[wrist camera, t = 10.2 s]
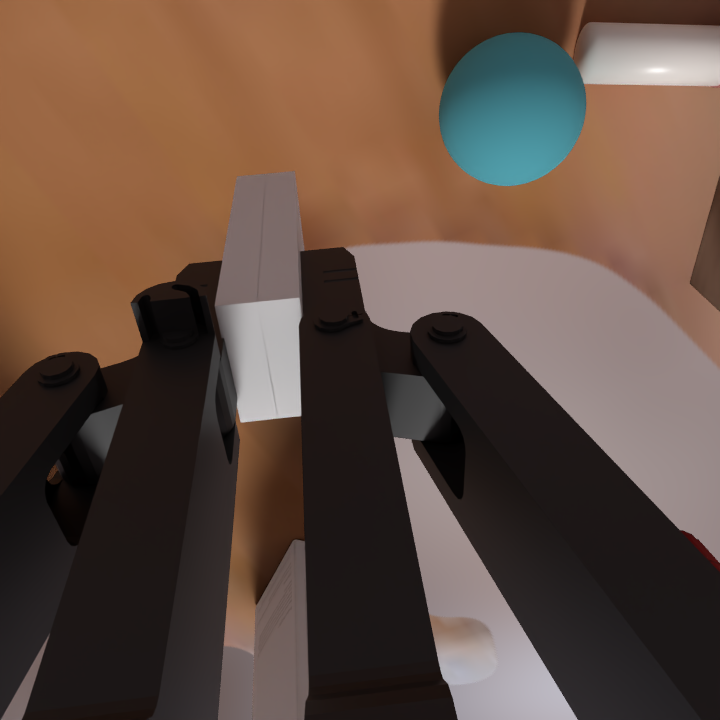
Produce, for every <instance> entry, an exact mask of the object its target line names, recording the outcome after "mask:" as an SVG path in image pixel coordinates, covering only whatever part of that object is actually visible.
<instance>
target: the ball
mask: <svg viewBox="0 0 720 720" xmlns="http://www.w3.org/2000/svg"><path fill="white" fill-rule="evenodd" d="M585 111H586V93H585V87H584V83H583V79H582V77H581V74H580V71H579V69H578V68H577V66H576V64H575V63H574V61H573V59H572V58H571V57H570V56H569V55H568V53H567V52H566V51H564V50H563V49H562V48H561V47H560V46H559V45H557V44H556V43H554V42H553V41H551V40H549V39H547V38H545V37H542V36H539V35H535V34H531V33H523V32H516V33H506V34H502V35H497V36H495V37H492V38H490V39H487V40H485V41H483V42H482V43H480V44H478V45H477V46H475V47H474V48H473V49H471V50H470V51H469V52H468V53H467V54H466V55H465V56H464V57H463V58H462V59H461V60H460V61H459V62H458V63H457V65H456V66H455V67H454V69H453V71H452V72H451V74H450V75H449V77H448V79H447V81H446V84H445V86H444V89H443V92H442V96H441V101H440V108H439V123H440V131H441V135H442V138H443V141H444V144H445V146H446V148H447V150H448V152H449V154H450V156H451V157H452V158H453V160H454V161H455V162H456V163H457V164H458V165H459V166H460V168H461V169H462V170H464V171H465V172H466V173H468V174H469V175H471V176H472V177H474V178H476V179H478V180H480V181H483V182H485V183H489V184H493V185H500V186H513V185H519V184H524V183H528V182H531V181H534V180H536V179H538V178H540V177H542V176H544V175H546V174H547V173H549V172H550V171H551V170H553V169H554V168H555V167H557V166H558V165H559V164H560V163H561V162H562V161H563V160H564V159H565V157H566V156H567V155H568V154H569V152H570V151H571V150H572V148H573V146H574V145H575V143H576V141H577V139H578V137H579V135H580V132H581V130H582V127H583V123H584V119H585Z"/></svg>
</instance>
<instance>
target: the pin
mask: <svg viewBox="0 0 720 720" xmlns="http://www.w3.org/2000/svg"><path fill="white" fill-rule="evenodd" d="M573 61H574V63H575V64H576V66H577V68H578V69H579V71H580V74H581V77H582V79H583V83H584V84H618V85H675V86H710V87H719V88H720V26H716V25H679V24H642V23H605V22H589V23H587V24H586V25H585V26H584V27H583V29H582V30H581V32H580V34H579V37H578V40H577V43H576V47H575V52H574V60H573Z"/></svg>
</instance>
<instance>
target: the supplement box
mask: <svg viewBox="0 0 720 720" xmlns="http://www.w3.org/2000/svg"><path fill="white" fill-rule="evenodd" d="M308 691H309V673H308V638H307V602H306V567H305V541H301V540H293V542H292V543H291V545H290V547H289V549H288V550H287V552H286V554H285V556H284V558H283V559H282V561H281V563H280V565H279V566H278V568H277V570H276V572H275V574H274V575H273V577H272V579H271V581H270V583H269V584H268V586H267V588H266V590H265V591H264V593H263V595H262V597H261V599H260V600H259V602H258V604H257V606H256V610H255V641H254V673H253V706H252V720H304V714H305V701H306V699H307V697H308Z"/></svg>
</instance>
